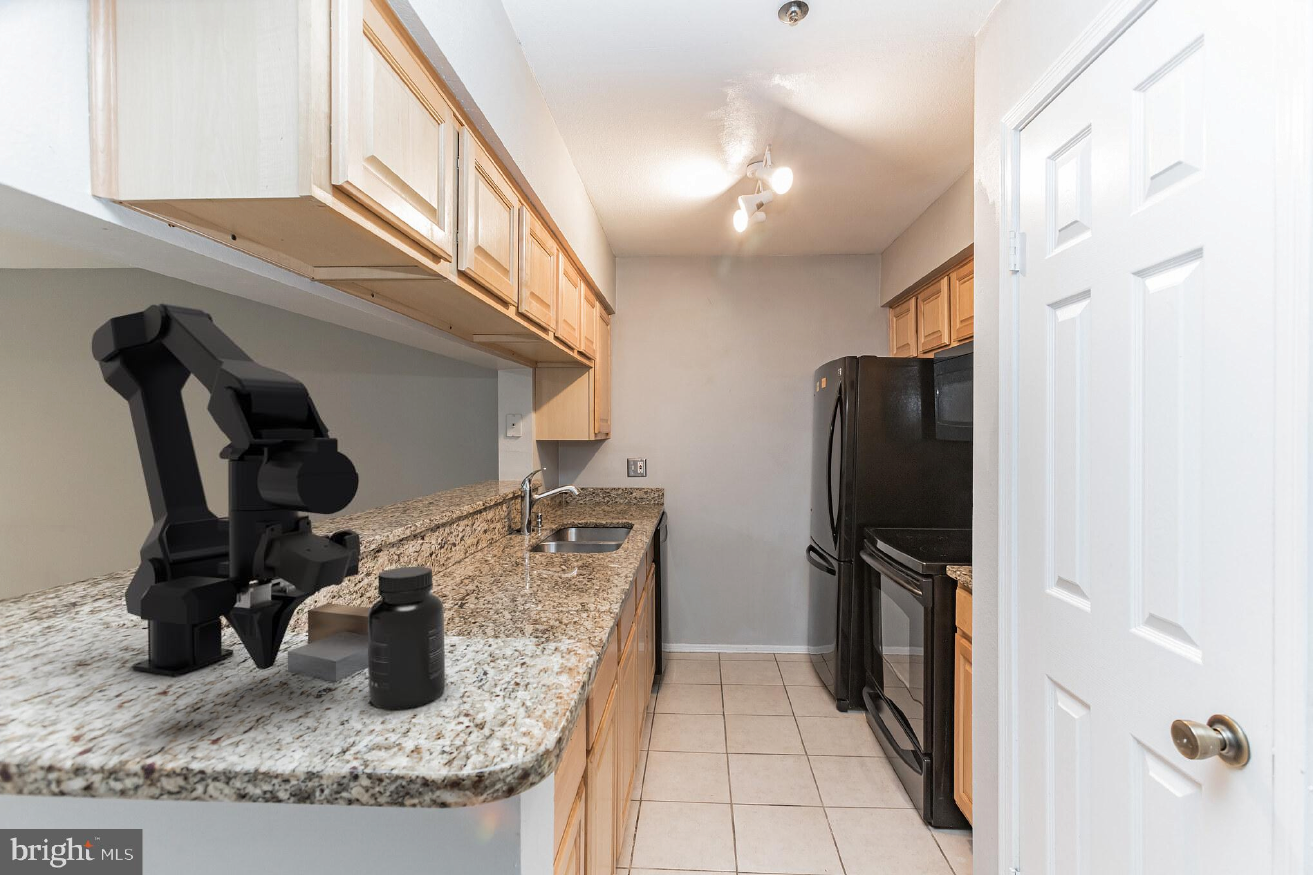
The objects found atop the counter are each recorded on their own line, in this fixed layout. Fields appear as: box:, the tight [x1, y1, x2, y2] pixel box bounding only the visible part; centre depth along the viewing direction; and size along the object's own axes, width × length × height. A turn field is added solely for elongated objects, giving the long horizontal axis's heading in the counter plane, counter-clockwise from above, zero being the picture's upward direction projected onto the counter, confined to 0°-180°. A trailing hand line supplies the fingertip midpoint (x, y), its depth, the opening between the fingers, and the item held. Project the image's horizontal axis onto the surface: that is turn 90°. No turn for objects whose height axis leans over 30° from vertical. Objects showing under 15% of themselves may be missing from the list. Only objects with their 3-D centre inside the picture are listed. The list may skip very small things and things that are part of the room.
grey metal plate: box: [287, 631, 368, 682], centre depth 66 cm, size 7×7×2 cm
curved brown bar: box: [307, 603, 371, 644], centre depth 72 cm, size 14×3×4 cm, turn 74°
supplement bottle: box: [367, 566, 446, 710], centre depth 58 cm, size 7×7×12 cm
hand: (265, 667), depth 59 cm, fingers closed
